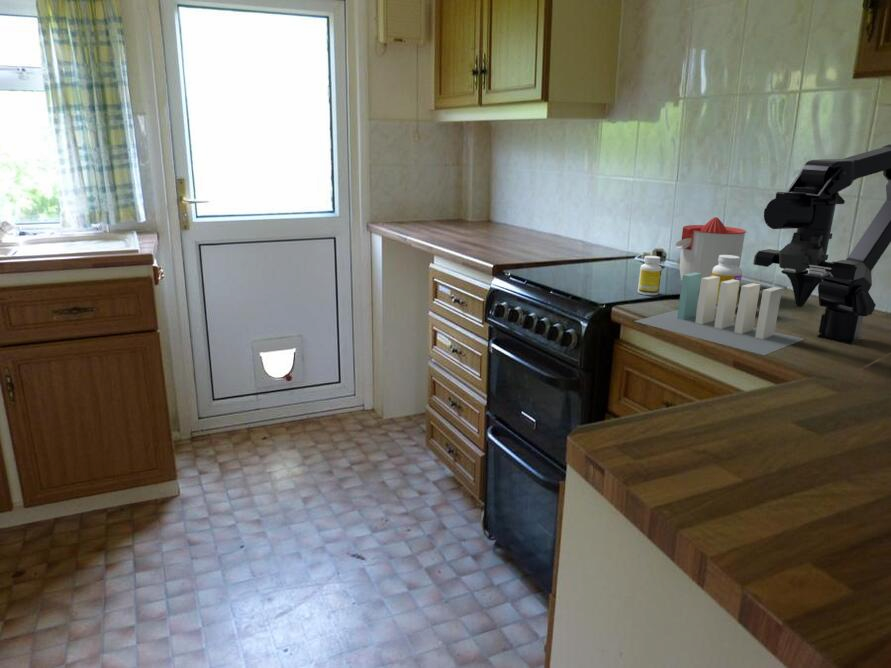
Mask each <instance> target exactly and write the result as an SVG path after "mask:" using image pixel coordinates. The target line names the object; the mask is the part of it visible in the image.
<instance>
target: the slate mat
mask: <svg viewBox="0 0 891 668" xmlns="http://www.w3.org/2000/svg"><path fill="white" fill-rule="evenodd" d="M677 316H678V309H675V310H672V311H668V312H667V311H666V312H665V313H660V314H657V315H652V316H648V317H645V318H641V319H637V320H634V321H633V322H635V323H638V324H643V325H646V326H649V327H653V328H654V327H655V328H656V329H657V328H658V329H661V330H665V331H669V332H673V333H677V334H680V335H684V336H689V337H692V338H695V339H701V340H705V341H708V342H711V343H714V344H715V343H716V344H719V345H723V346H727V347H729V348H733V349H738V350H742V351H745V352H749V353H753V354H757V355H760V356H766V355H769V354H771V353H774V352H775V351H778V350H782V349H783V348H787V347H788V346H791V345H794V344H797V343H798V342H801V341H804V340H805V338H803V337H798V336H793V335H790V334H786V333H780V332H777V331H775V332H774V335H773V336H770V337H767V338H764V339H761V338H756V337H755V335H756V329H757V326H756V327H755V326H753V330H751V331H749V332H746V333H743V334H740V333H736V332H734V330H735V324H736V322H734V321H733V325H732V326H729V327H726V328H723V329H719V328H715V327H714V326H715V319H716V317H714V321H711V322H708V323H704V324H699V323H695V321H696V317H692V318H688V319H685V320H682V319H678V318H677Z"/></svg>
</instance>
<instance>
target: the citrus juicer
mask: <svg viewBox="0 0 891 668" xmlns="http://www.w3.org/2000/svg"><path fill="white" fill-rule="evenodd" d="M745 234H747V231H746V229H742V228H739V227H731V226H725V225H724V223H723V222H722V221H721V219H719V217H716V216H714V217H713V218H711V219H709V220H708V222H707V223H705V224H693V225H692V224H689V225H684V226H683V227H682V232H681V239H680V240H678V241H676V244H675V248H676V249H678V250H679V249H680V257H679V276H680V283H681V284H682V277H683V275H685V274H690V273H701V278H705V277H710V276H712V270H713V268H714V267H715V266H717V265H718V264H719V260H718V259H719V255H733V256H738V257H740V262H739V264H738V267H739V268H740V267H741V261H742V253H743V248H744V241H745ZM700 285H701V281H700ZM699 292H700V289H699Z"/></svg>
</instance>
